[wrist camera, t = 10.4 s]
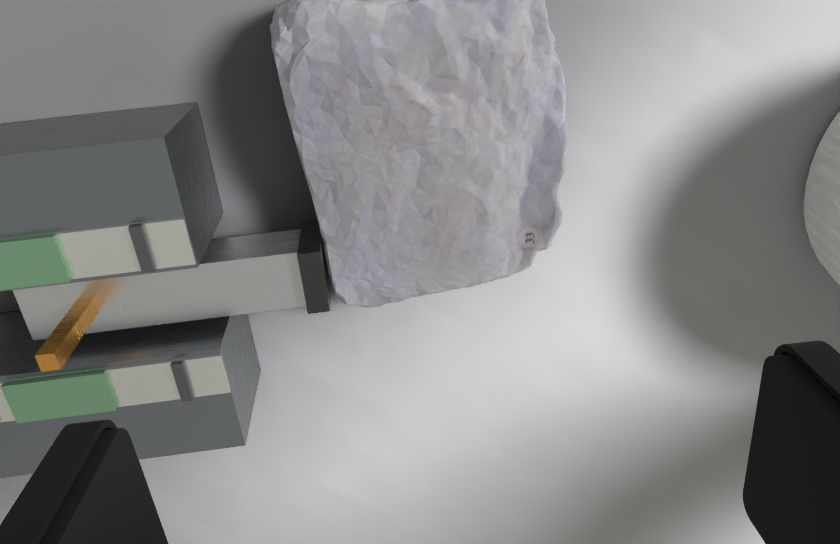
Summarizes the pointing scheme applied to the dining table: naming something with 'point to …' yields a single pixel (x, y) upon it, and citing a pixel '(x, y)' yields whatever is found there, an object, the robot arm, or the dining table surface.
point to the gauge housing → (110, 258)
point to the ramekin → (825, 200)
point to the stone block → (424, 138)
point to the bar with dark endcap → (184, 291)
